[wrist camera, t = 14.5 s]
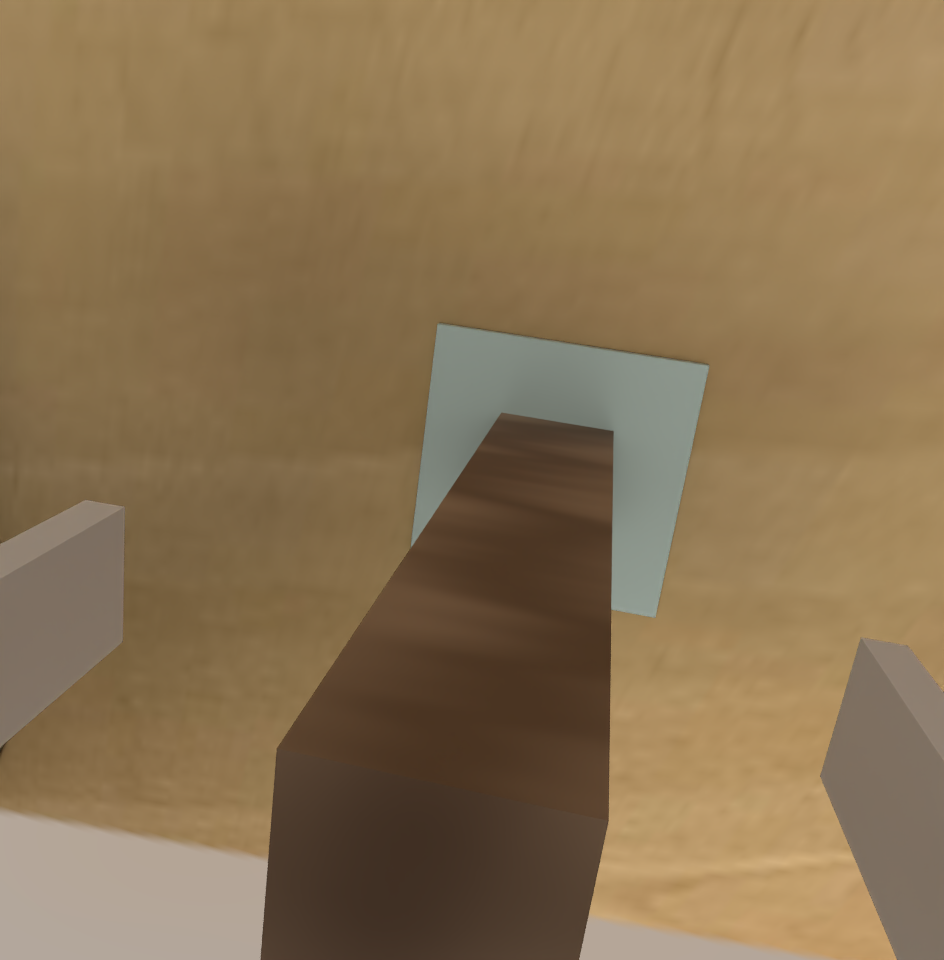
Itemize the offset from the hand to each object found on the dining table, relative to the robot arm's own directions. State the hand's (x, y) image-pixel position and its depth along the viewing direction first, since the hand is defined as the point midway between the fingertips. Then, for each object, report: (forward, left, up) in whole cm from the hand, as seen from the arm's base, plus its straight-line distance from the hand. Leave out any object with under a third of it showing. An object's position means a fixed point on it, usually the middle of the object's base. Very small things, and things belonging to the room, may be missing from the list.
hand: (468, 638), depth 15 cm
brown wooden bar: (+1, 0, -12) cm, 12 cm away
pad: (+1, 0, -12) cm, 12 cm away
